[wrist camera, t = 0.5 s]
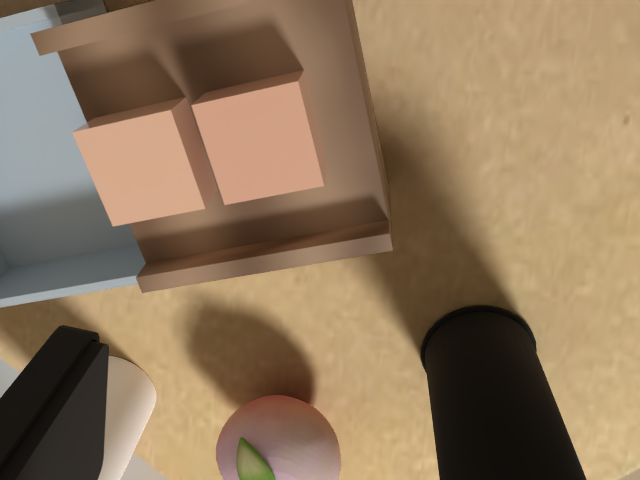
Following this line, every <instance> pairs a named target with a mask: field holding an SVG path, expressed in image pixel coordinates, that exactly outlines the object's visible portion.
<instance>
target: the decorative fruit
mask: <svg viewBox="0 0 640 480" xmlns="http://www.w3.org/2000/svg"><path fill="white" fill-rule="evenodd" d="M216 460H217V464H218V467H219V470H220V473H221V475H222V477H223V479H224V480H339V476H340V470H341V457H340V448H339V443H338V440H337V437H336V434H335V432H334V430H333V428H332V427H331V425H330V424H329V422H328V421H327V420H326V418H325V417H324V416H323V415H322V414H321V413H320V412H319V411H318V410H317V409H315V408H314V407H313V406H311V405H309V404H308V403H306V402H304V401H301V400H299V399H296V398H293V397H289V396H285V395H270V396H265V397H261V398H258V399H255V400H252V401H250V402H248V403H246V404H245V405H243V406H242V407H240V408H239V409H238V410H237V411H236V412H235V413H233V414H232V416H231V417H230V418H229V419H228V420H227V422H226V423H225V425H224V427H223V428H222V431H221V433H220V435H219V438H218V442H217V446H216Z"/></svg>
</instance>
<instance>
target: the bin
mask: <svg viewBox="0 0 640 480" xmlns="http://www.w3.org/2000/svg"><path fill="white" fill-rule="evenodd" d="M103 13H107V11H106V8H105V6H104V3H103V0H70V1H65V2H60V3H55V4H51V5H47V6H43V7H40V8H36V9H32V10H29V11H25V12H21V13H18V14H14V15H10V16H7V17H3V18H0V308H1V307H7V306H13V305H19V304H25V303H31V302H36V301H42V300H48V299H54V298H60V297H66V296H71V295H77V294H83V293H89V292H95V291H101V290H106V289H112V288H118V287H124V286H130V285H136V284H138V282H137V280H136V276H137V275H138V274H139V272H140V271H141V269H142V268H143V266H144V265H145V264H146V263H145V260H144V258H143V255H142V253H141V251H140V248H139V246H138V244H137V241H136V239H135V236H134V234H133V232H132V229H131V227H130V224H124V225H118V226H112V223H111V221H110V219H109V216H108V214H107V212H106V210H105V207H104V205H103V203H102V200H101V198H100V196H99V193H98V191H97V189H96V186H95V184H94V182H93V180H92V177H91V175H90V173H89V170H88V168H87V166H86V163H85V161H84V159H83V157H82V154H81V152H80V150H79V147H78V145H77V143H76V140H75V138H74V136H73V133H72V132H73V131H75V130H76V129H78V128H79V127H81V126H83V125H84V124H86V123H87V122H86V119H85V117H84V115H83V112H82V110H81V107H80V105H79V103H78V100H77V98H76V96H75V93H74V91H73V88H72V86H71V84H70V81H69V79H68V76H67V74H66V72H65V69H64V67H63V65H62V62H61V60H60V57H59V55H58V53H57V52H53V53H49V54H45V55H41V56H39V53H38V51H37V49H36V46H35V44H34V42H33V39H32V37H31V35H30V33H34V32H38V31H41V30H45V29H49V28H52V27H56V26H60V25H63V24H67V23H70V22H74V21H78V20H81V19H85V18H89V17H92V16H96V15H100V14H103Z"/></svg>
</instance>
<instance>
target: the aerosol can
mask: <svg viewBox="0 0 640 480" xmlns="http://www.w3.org/2000/svg"><path fill="white" fill-rule="evenodd" d="M536 351H537V350H536V341H535V338H534V335H533V333H532V331H531V330H530V328H529V327H528V325H527V324H526V323H525V322H524V321H523V320H522V319H520V318H519V317H518V316H516V315H515V314H513V313H511V312H509V311H507V310H504V309H501V308H497V307H491V306H472V307H466V308H462V309H459V310H456V311H453V312H451V313H449V314H448V315H446V316H444V317H443V318H441V319H440V320H439V321H437V322H436V323H435V324H434V325H433V326H432V327H431V329H430V330H429V331H428V333H427V335H426V336H425V338H424V341H423V344H422V348H421V360H422V365H423V367H424V369H425V371H426V374H427V380H428V388H429V396H430V404H431V412H432V420H433V428H434V436H435V444H436V452H437V460H438V469H439V477H440V480H586V477H585V475H584V472H583V470H582V467H581V465H580V462H579V459H578V457H577V454H576V452H575V449H574V447H573V444H572V442H571V439H570V437H569V434H568V432H567V429H566V427H565V424H564V422H563V419H562V417H561V414H560V411H559V409H558V406H557V404H556V401H555V399H554V396H553V394H552V391H551V389H550V386H549V384H548V381H547V379H546V376H545V374H544V371H543V368H542V366H541V363H540V361H539V358H538V356H537V353H536Z"/></svg>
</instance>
